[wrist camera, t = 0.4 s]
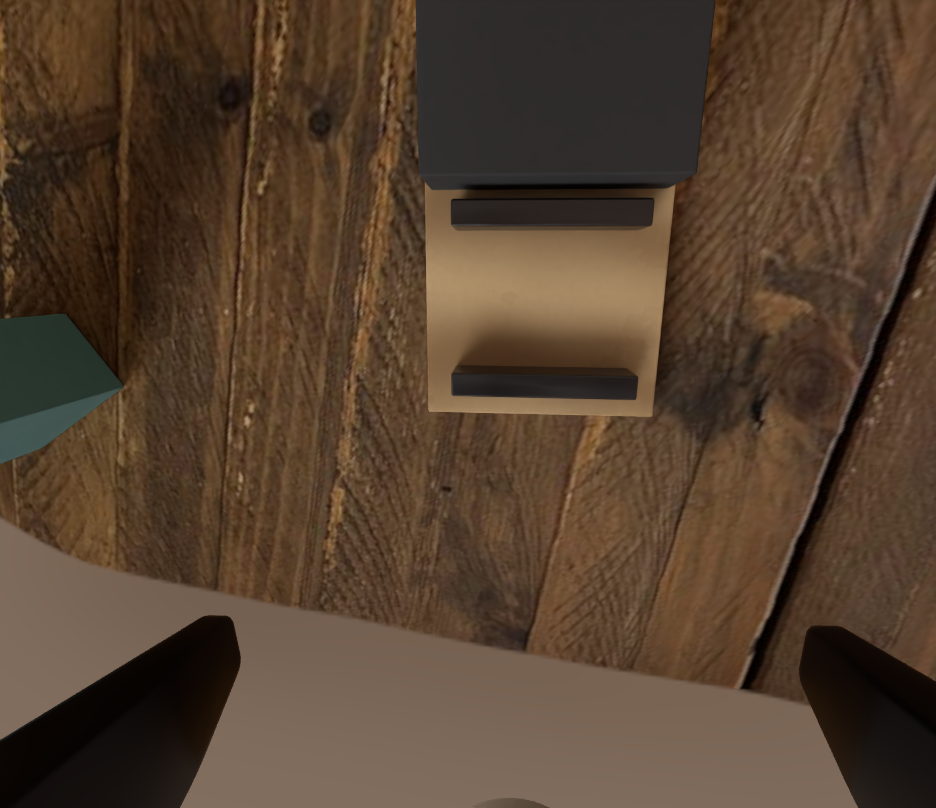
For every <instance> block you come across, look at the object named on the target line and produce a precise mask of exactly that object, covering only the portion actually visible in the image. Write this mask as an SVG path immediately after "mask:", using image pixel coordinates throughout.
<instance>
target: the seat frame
mask: <svg viewBox="0 0 936 808" xmlns="http://www.w3.org/2000/svg"><path fill="white" fill-rule="evenodd" d="M715 1H716V0H416V38H417V94H418V150H419V175H420V177H421V178H422V179H423V180H424V181H425V224H426V289H427V355H428V410H429V411H433V412H475V413H517V414H559V415H601V416H643V417H651V416H652V414H653V404H654V394H655V385H656V375H657V365H658V355H659V345H660V335H661V325H662V315H663V305H664V295H665V285H666V275H667V265H668V255H669V245H670V235H671V225H672V216H673V206H674V196H675V186H676V184H677V183H679V182H681V181H683V180H685V179H687V178H688V177H690V176H692V175H694V174H696V172H697V165H698V156H699V146H700V137H701V128H702V119H703V110H704V101H705V92H706V83H707V74H708V64H709V55H710V46H711V37H712V28H713V19H714V10H715Z"/></svg>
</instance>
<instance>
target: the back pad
mask: <svg viewBox="0 0 936 808" xmlns="http://www.w3.org/2000/svg"><path fill="white" fill-rule="evenodd" d="M122 388H123V385H122V383H121V382H120V381H119V380H118V378H117V377H116V376H115V375H114V373H113V372H112V371H111V370H110V368H109V367H108V366H107V365H106V363H105V362H104V361H103V360H102V358H101V357H100V356H99V355H98V354H97V352H96V351H95V350H94V349H93V347H92V346H91V345H90V344H89V342H88V341H87V340H86V339H85V337H84V336H83V335H82V334H81V332H80V331H79V330H78V329H77V327H76V326H75V325H74V324H73V322H72V321H71V320H70V319H69V317H68V316H67V315H66V314H54V315H42V316H30V317H19V318H7V319H0V464H1V463H3V462H6V461H9V460H11V459H14V458H17V457H19V456H22V455H25V454H27V453H30V452H33V451H35V450H38V449H41V448H43V447H44V446H45V445H47V444H48V443H49V442H51V441H52V440H53V439H55V438H56V437H57V436H59V435H60V434H61V433H63V432H64V431H65V430H67V429H68V428H69V427H71V426H72V425H73V424H75V423H76V422H77V421H79V420H80V419H82V418H83V417H84V416H86V415H87V414H88V413H90V412H91V411H92V410H94V409H95V408H96V407H98V406H99V405H100V404H102V403H103V402H104V401H106V400H107V399H108V398H110V397H111V396H112V395H114V394H115V393H116V392H118V391H119V390H120V389H122Z"/></svg>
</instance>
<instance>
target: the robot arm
mask: <svg viewBox="0 0 936 808" xmlns="http://www.w3.org/2000/svg"><path fill="white" fill-rule="evenodd" d="M240 659H241V656H240V650H239V646H238V642H237V637H236V632H235V628H234V623H233V621H232V620H231V618H230V617H228V616H215V615H209V616H204V617H201V618H200V619H198V620H196V621H195V622H193V623H191V624H190V625H188V626H187V627H185V628H183V629H181V630H180V631H178V632H177V633H175V634H173V635H172V636H170V637H168V638H167V639H165V640H163V641H162V642H160V643H159V644H157V645H155V646H154V647H152V648H150V649H149V650H147V651H145V652H144V653H142V654H140V655H139V656H137V657H136V658H134V659H132V660H131V661H129V662H127V663H126V664H124V665H122V666H121V667H119V668H117V669H116V670H114V671H113V672H111V673H109V674H108V675H106V676H105V677H103V678H101V679H100V680H98V681H96V682H95V683H93V684H91V685H90V686H88V687H86V688H85V689H83V690H81V691H80V692H78V693H76V694H75V695H73V696H72V697H70V698H68V699H67V700H65V701H63V702H62V703H60V704H59V705H57V706H55V707H53V708H52V709H51V710H49V711H47V712H45V713H44V714H42V715H41V716H39V717H37V718H35V719H34V720H33V721H31V722H29V723H27V724H26V725H24V726H22V727H21V728H19V729H18V730H16V731H14V732H13V733H11V734H9V735H8V736H6V737H4V738H3V739H1V740H0V808H180V806H181V805H182V803H183V801H184V798H185V797H186V795H187V793H188V791H189V789H190V786H191V785H192V782H193V780H194V778H195V776H196V774H197V772H198V770H199V768H200V765H201V763H202V761H203V758H204V756H205V753H206V751H207V748H208V746H209V744H210V741H211V739H212V736H213V734H214V731H215V729H216V726H217V724H218V721H219V719H220V716H221V714H222V711H223V709H224V706H225V704H226V702H227V699H228V696H229V694H230V692H231V689H232V687H233V684H234V682H235V679H236V677H237V674H238V671H239V668H240V662H241V660H240ZM799 676H800V681H801V684H802V687H803V689H804V692H805V694H806V696H807V698H808V700H809V703H810V705H811V707H812V709H813V712H814V714H815V716H816V718H817V720H818V723H819V725H820V727H821V729H822V731H823V734H824V736H825V738H826V740H827V742H828V744H829V747H830V749H831V751H832V753H833V755H834V758H835V760H836V762H837V764H838V766H839V769H840V771H841V773H842V775H843V778H844V780H845V782H846V784H847V786H848V788H849V790H850V792H851V794H852V796H853V798H854V800H855V802H856V804H857V806H858V808H936V681H934V680H932V679H931V678H929V677H927V676H925V675H924V674H922V673H920V672H919V671H917V670H915V669H913V668H912V667H910V666H908V665H907V664H905V663H903V662H901V661H900V660H898V659H896V658H894V657H893V656H891V655H889V654H888V653H886V652H884V651H882V650H881V649H879V648H877V647H876V646H874V645H872V644H870V643H869V642H867V641H865V640H864V639H862V638H860V637H858V636H857V635H855V634H853V633H852V632H850V631H848V630H846V629H844V628H843V627H839V626H817V625H815V626H811V627H810V628H809V629H808V630H807V632H806V635H805V640H804V646H803V651H802V656H801V661H800V666H799Z"/></svg>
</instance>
